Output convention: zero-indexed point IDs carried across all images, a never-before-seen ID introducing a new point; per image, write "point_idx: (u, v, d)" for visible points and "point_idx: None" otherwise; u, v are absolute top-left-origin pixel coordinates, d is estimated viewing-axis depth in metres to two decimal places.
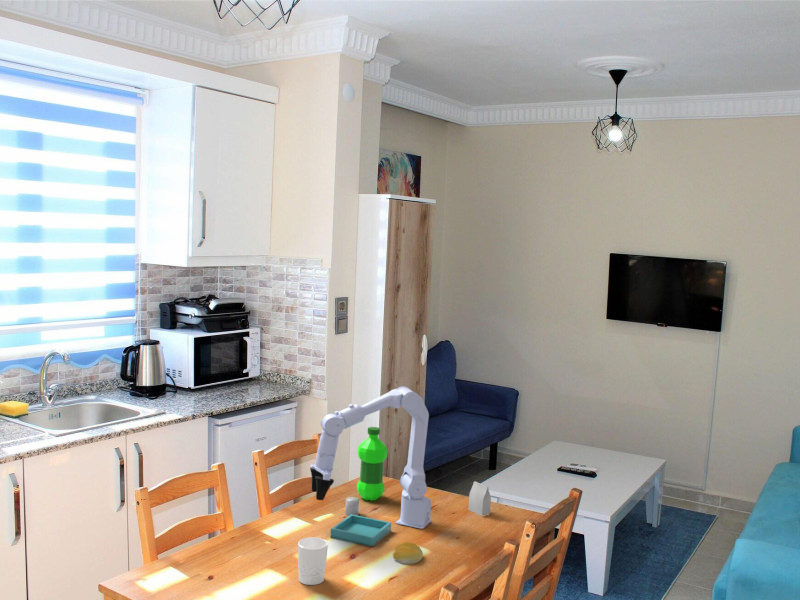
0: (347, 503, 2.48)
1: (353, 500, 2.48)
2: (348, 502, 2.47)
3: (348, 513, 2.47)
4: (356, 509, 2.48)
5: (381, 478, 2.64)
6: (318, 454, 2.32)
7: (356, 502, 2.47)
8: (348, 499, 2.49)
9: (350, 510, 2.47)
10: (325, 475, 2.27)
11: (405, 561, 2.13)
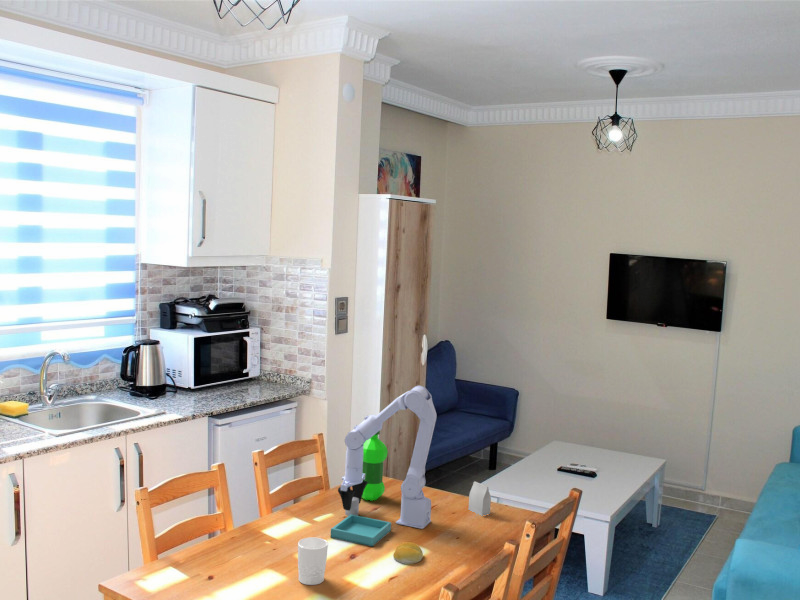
0: None
1: (353, 500, 2.48)
2: None
3: (348, 513, 2.47)
4: (356, 509, 2.48)
5: (381, 478, 2.64)
6: None
7: (356, 502, 2.47)
8: None
9: (350, 510, 2.47)
10: (341, 486, 2.42)
11: (405, 561, 2.13)
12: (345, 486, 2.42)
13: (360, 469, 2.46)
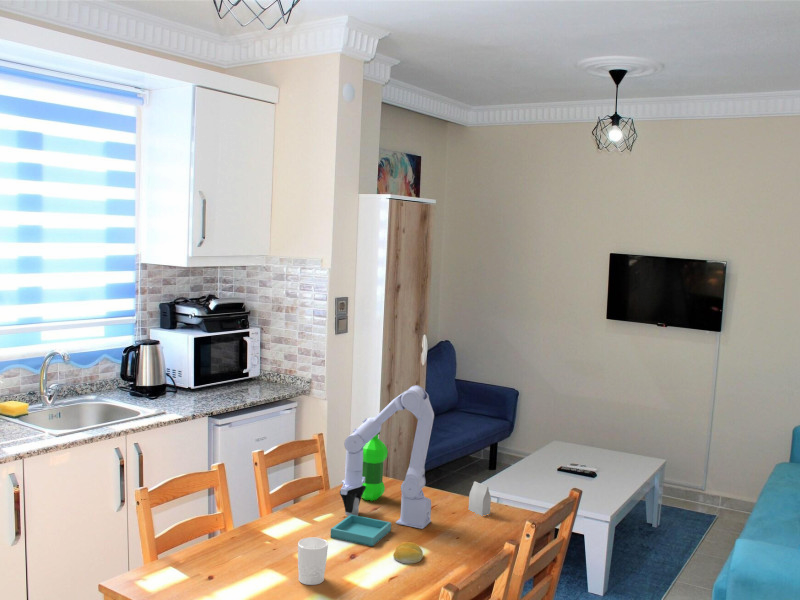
0: None
1: None
2: None
3: (348, 513, 2.47)
4: (356, 509, 2.48)
5: (381, 478, 2.64)
6: (345, 470, 2.48)
7: (356, 502, 2.47)
8: None
9: None
10: (341, 490, 2.42)
11: (405, 561, 2.13)
12: (345, 490, 2.42)
13: (360, 473, 2.47)
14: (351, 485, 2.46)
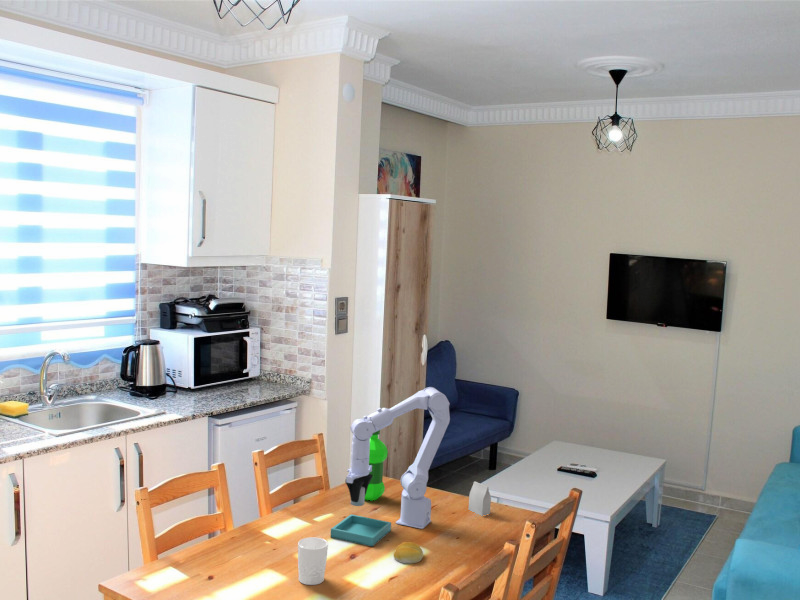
0: None
1: None
2: None
3: (353, 502, 2.38)
4: (361, 498, 2.38)
5: (381, 478, 2.64)
6: (351, 458, 2.38)
7: (361, 491, 2.37)
8: None
9: None
10: (347, 478, 2.32)
11: (405, 561, 2.13)
12: (351, 478, 2.32)
13: (366, 460, 2.37)
14: (357, 473, 2.36)
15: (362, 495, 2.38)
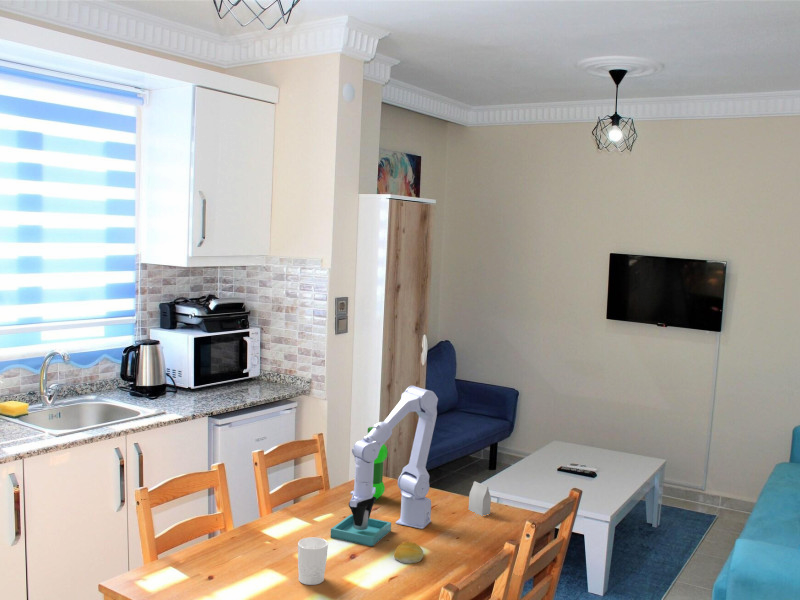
0: None
1: None
2: None
3: (356, 526, 2.31)
4: (365, 522, 2.31)
5: (381, 478, 2.64)
6: None
7: (365, 515, 2.31)
8: None
9: None
10: (350, 502, 2.25)
11: (406, 561, 2.13)
12: (354, 502, 2.25)
13: (370, 483, 2.30)
14: (361, 496, 2.29)
15: (365, 519, 2.31)
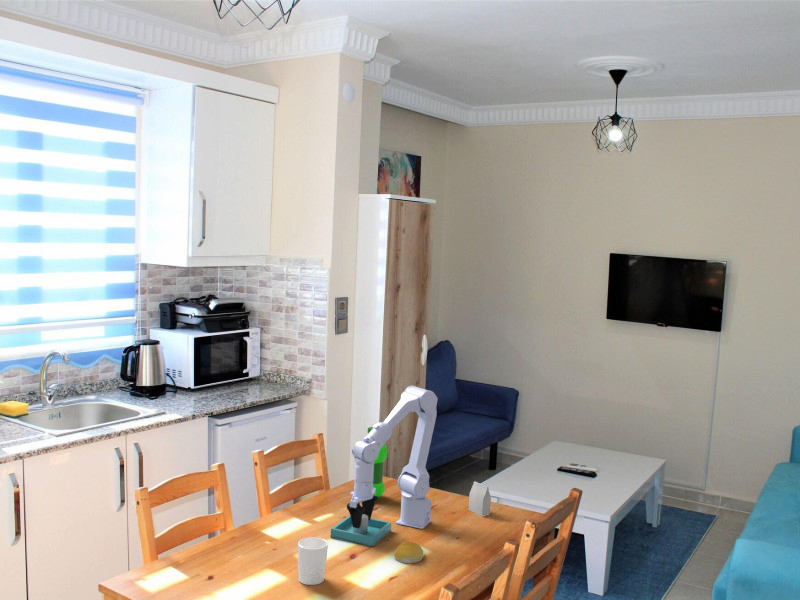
0: None
1: None
2: None
3: (356, 531, 2.31)
4: (365, 527, 2.31)
5: (381, 478, 2.64)
6: (354, 481, 2.31)
7: (364, 520, 2.31)
8: None
9: (358, 528, 2.31)
10: (350, 502, 2.25)
11: (406, 560, 2.13)
12: (354, 502, 2.25)
13: (370, 484, 2.30)
14: (361, 497, 2.29)
15: (365, 524, 2.31)
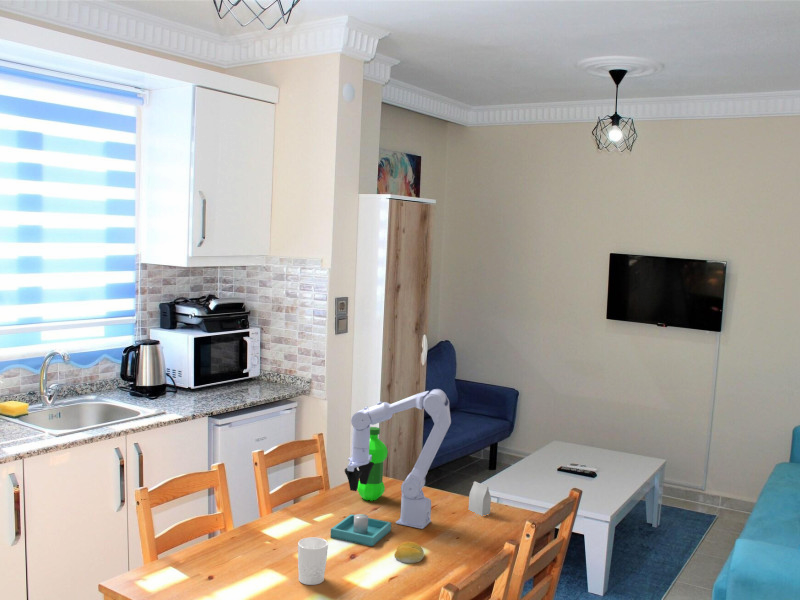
0: (355, 520, 2.31)
1: (362, 517, 2.31)
2: (356, 519, 2.31)
3: (356, 531, 2.31)
4: (365, 527, 2.31)
5: (381, 478, 2.64)
6: None
7: (365, 520, 2.31)
8: (357, 516, 2.32)
9: (358, 528, 2.31)
10: (348, 466, 2.41)
11: (406, 560, 2.13)
12: (352, 466, 2.40)
13: (367, 450, 2.45)
14: (358, 462, 2.44)
15: (365, 524, 2.31)
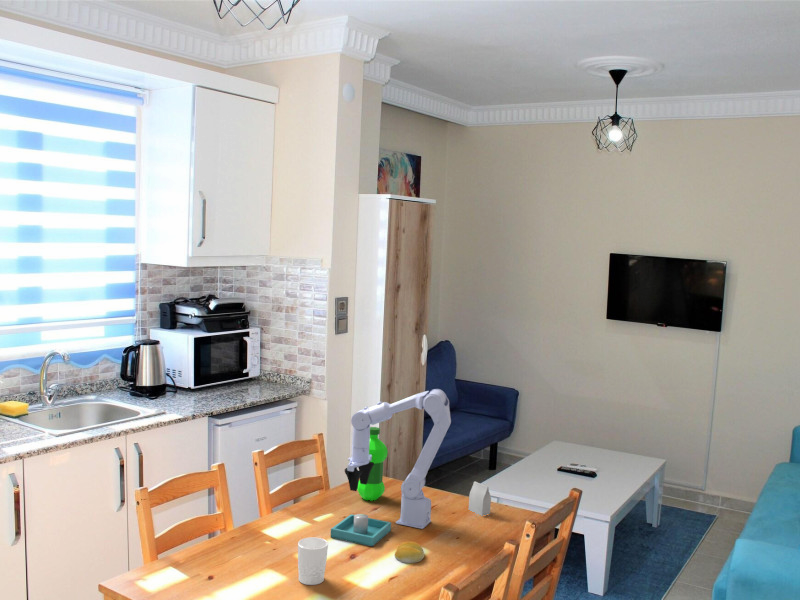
0: (355, 520, 2.31)
1: (362, 517, 2.31)
2: (356, 519, 2.31)
3: (356, 531, 2.31)
4: (365, 527, 2.31)
5: (381, 478, 2.64)
6: None
7: (365, 520, 2.31)
8: (356, 516, 2.32)
9: (358, 527, 2.31)
10: (348, 466, 2.41)
11: (406, 560, 2.13)
12: (352, 466, 2.40)
13: (367, 450, 2.45)
14: (358, 462, 2.44)
15: (365, 524, 2.31)
